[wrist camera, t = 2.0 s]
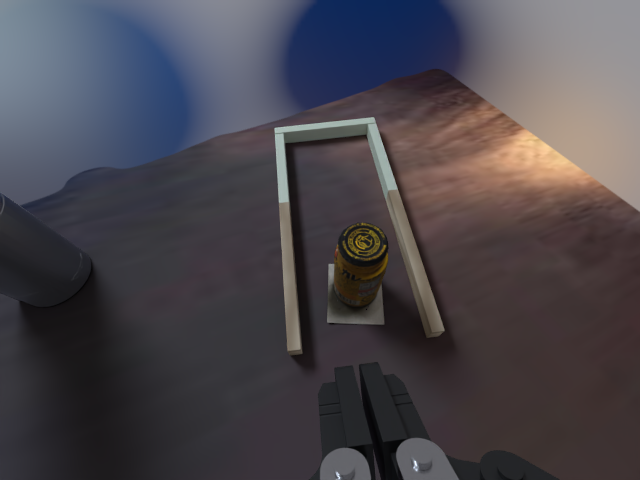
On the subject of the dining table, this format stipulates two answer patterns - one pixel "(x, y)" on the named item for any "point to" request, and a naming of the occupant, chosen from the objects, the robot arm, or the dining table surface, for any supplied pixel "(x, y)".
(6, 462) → the dining table surface
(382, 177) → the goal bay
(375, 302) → the condiment
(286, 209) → the wooden guide rails
